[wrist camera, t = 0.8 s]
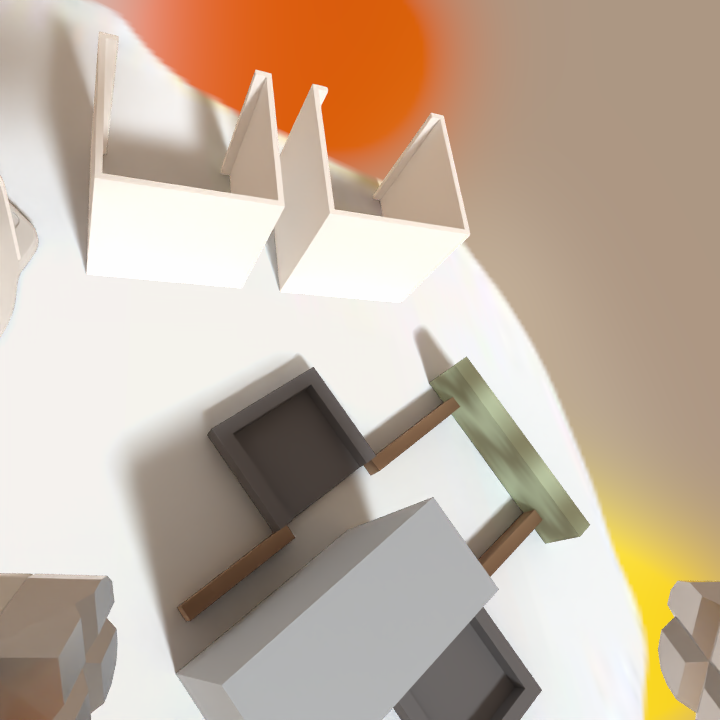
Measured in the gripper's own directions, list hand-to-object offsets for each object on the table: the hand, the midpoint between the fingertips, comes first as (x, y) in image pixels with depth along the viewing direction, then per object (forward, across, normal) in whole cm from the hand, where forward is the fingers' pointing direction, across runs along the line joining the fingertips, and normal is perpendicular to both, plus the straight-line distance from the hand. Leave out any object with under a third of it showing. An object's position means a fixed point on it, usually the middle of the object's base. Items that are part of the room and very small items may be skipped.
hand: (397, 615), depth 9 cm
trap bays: (+30, -3, +20) cm, 36 cm away
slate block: (+26, +2, +22) cm, 34 cm away
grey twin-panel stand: (+44, +7, -1) cm, 45 cm away
